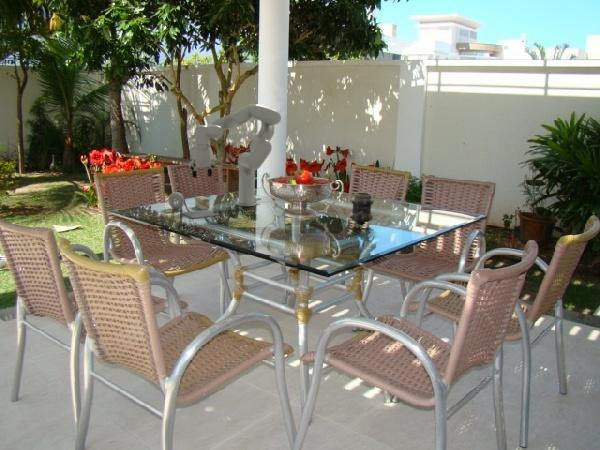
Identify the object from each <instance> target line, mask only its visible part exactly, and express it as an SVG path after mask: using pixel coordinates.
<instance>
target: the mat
mask: <svg viewBox="0 0 600 450" xmlns="http://www.w3.org/2000/svg"><path fill="white" fill-rule="evenodd" d="M180 215H182V216H184V217H187V218H189V219H192V220H196V219H203V218H212V217H219V216H220V214H218V213H216V212H213V211H210V210H209V209H203V210H202V209H201V210H196V211H195V210H194V211H185V212H180Z"/></svg>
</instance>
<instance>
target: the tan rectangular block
mask: <svg viewBox="0 0 600 450" xmlns="http://www.w3.org/2000/svg"><path fill="white" fill-rule="evenodd" d="M194 199H195V200H194V201H195V202H194V203H195V205H194V206H195V207H196V208H198V209H200V210H201V211H202V210H209V209H210V205H211V204H210V201H211V200H210V198H208V197H205V196H201V195H200V196H199V195H198V196H195V197H194Z"/></svg>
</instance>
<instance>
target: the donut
mask: <svg viewBox="0 0 600 450" xmlns="http://www.w3.org/2000/svg"><path fill="white" fill-rule="evenodd" d="M175 199H177V203H176V201H175ZM168 204H169V206H170V208H172V209H173V210H180V209H181V208H182V207H184V204H185V198H184V196H183V194H181V193H180V192H178V191H173V192H171V194H169V197H168Z"/></svg>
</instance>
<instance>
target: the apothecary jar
mask: <svg viewBox="0 0 600 450" xmlns="http://www.w3.org/2000/svg"><path fill="white" fill-rule="evenodd" d="M350 202H351V204H352V211H351V212H350V214H349V218H350V219H351V220H352V221H354V222H355V223H357V224H359V225H363V224H366V223H369V222H371V221H372V220H373V217H374V215H373V214H372V212H371V211H372V205H373V204H374V199H373V198H372V194H371V193H369V192H363V191H361V192H360V191H359V192H358V191H357V192H354V196H353V197H352V198H351V199H350Z"/></svg>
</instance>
